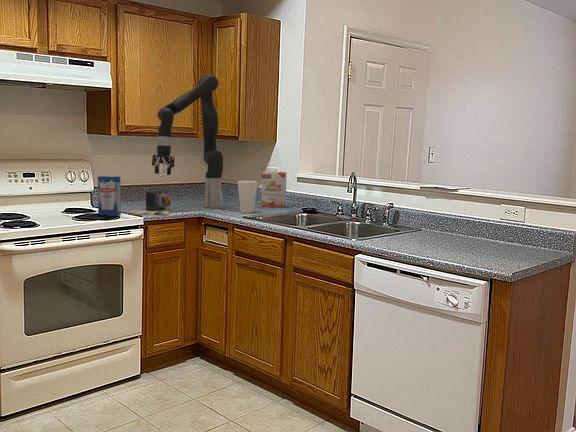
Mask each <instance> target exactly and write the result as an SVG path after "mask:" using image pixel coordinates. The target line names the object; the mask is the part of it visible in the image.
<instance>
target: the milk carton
mask: <svg viewBox="0 0 576 432" xmlns="http://www.w3.org/2000/svg"><path fill="white" fill-rule="evenodd" d="M121 189H122V188H121V176H117V175H116V176H113V175H111V176H108V175H107V176H105V175H102V176H99V175H98V176H97V208H98V209H97V211H98V213H97V214H98V215H102V216H103V215H107V216H108V217H117V216H122V212H121V211H122V209H121V207H122V205H121V203H122V201H121V200H122V199H121V197H122V195H121V193H122V192H121ZM98 215H97V216H98ZM102 216H101V217H102ZM107 216H106V217H107Z"/></svg>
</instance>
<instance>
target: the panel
mask: <svg viewBox="0 0 576 432" xmlns="http://www.w3.org/2000/svg"><path fill="white" fill-rule="evenodd" d="M145 214H151V215H150V216H168V215H170V214H171V210H170V211H165V210H156V211H150V210H131V211H130V212H128V216H146V215H145Z"/></svg>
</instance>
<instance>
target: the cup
mask: <svg viewBox="0 0 576 432" xmlns="http://www.w3.org/2000/svg"><path fill="white" fill-rule="evenodd" d="M237 187H238V200H239V208H240V209H239V210H240V212H241V213H242V214H251V213H255V205H256V197H257V190H258V189H257V187H258V181H257V180H256V181H255V180H238V181H237ZM241 213H240V214H241Z"/></svg>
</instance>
